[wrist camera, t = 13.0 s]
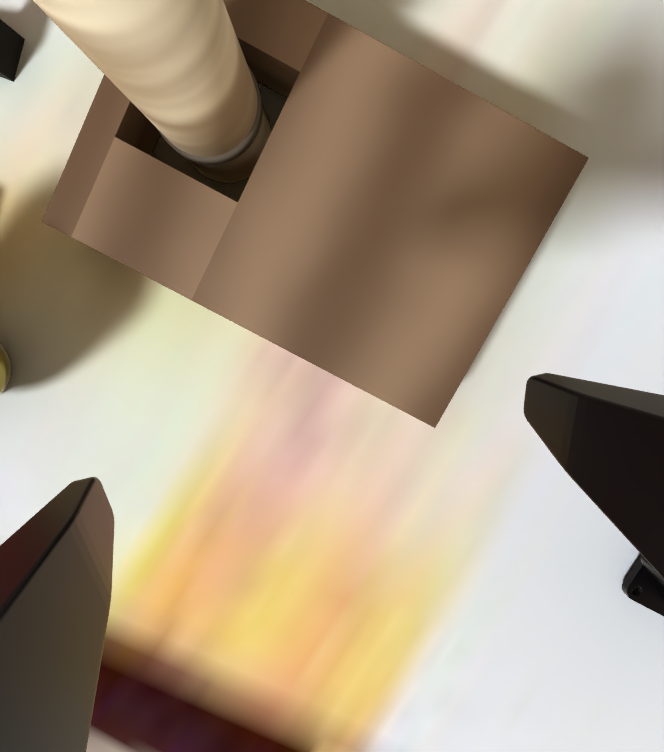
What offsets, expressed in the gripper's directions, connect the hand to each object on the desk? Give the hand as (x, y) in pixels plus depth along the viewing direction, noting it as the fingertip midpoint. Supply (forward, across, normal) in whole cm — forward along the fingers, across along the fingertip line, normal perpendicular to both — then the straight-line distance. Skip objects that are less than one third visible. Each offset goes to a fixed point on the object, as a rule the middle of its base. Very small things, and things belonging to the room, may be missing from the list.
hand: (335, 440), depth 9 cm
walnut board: (+14, -3, -3) cm, 15 cm away
